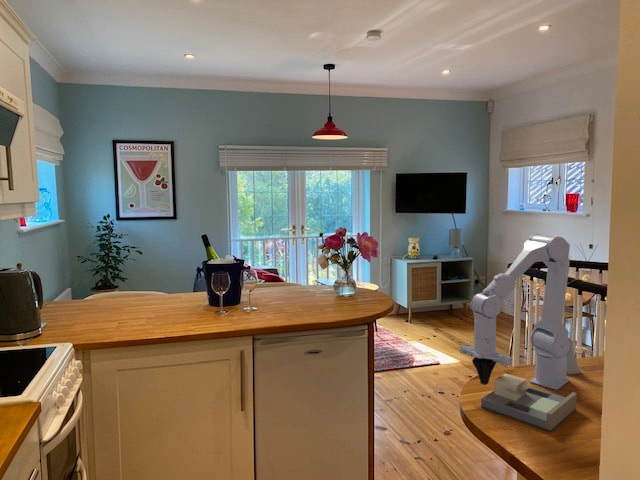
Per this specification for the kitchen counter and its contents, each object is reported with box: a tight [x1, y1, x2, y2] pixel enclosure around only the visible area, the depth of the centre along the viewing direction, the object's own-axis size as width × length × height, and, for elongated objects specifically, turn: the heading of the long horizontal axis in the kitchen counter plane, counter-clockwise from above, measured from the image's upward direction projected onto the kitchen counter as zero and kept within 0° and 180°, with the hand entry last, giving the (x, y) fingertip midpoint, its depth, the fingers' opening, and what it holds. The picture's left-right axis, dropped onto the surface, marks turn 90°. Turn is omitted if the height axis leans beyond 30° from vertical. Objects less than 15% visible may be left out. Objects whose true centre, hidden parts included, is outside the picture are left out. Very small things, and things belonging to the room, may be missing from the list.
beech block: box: [493, 373, 527, 401], centre depth 129 cm, size 6×6×4 cm
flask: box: [565, 338, 581, 375], centre depth 149 cm, size 7×7×10 cm
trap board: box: [480, 385, 578, 433], centre depth 126 cm, size 16×18×4 cm
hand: (484, 383), depth 135 cm, fingers closed
